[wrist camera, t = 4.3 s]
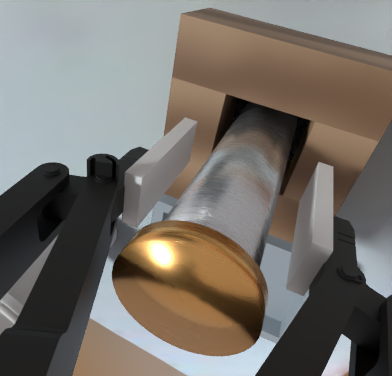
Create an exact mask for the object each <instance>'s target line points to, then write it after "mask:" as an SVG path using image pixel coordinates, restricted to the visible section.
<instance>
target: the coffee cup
mask: <svg viewBox="0 0 392 376" xmlns="http://www.w3.org/2000/svg"><path fill="white" fill-rule="evenodd" d="M57 237H58V236H57ZM57 237H56V238H55V239H54V240H53V241H52V242H51V244H50V245H49V246H48V247H47V248H46V249H45V250H44V251H43V253H42V254H41V255H40V256H39V257H38V258H37V259H36V261H35V262H34V263H33V264H32V265H31V266H30V267H29V268H28V270H27V271H26V272H25V273H24V274H23V275H22V276H21V277H20V279H19V280H18V281H17V282H16V283H15V284H14V285H13V287H12V288H11V289H10V290H9V291H8V292H7V293H6V294H5V296H4V297H3V298H2V299H1V300H0V335H1V333H2V332H3V331H4V330H5V329H6V328H10V327H12V326H13V325H14V324H15V322H16V321H17V319H18V317H19V315H20V313H21V310H22V308H23V306H24V304H25V302H26V300H27V298H28V296H29V294H30V292H31V290H32V288H33V286H34V284H35V282H36V280H37V278H38V276H39V274H40V272H41V270H42V268H43V265H44V263H45V261H46V259H47V257H48V255H49V253H50V251H51V249H52V247H53V245H54V243H55V241H56V239H57ZM116 239H117V227H116V228H115V232H114V235H113V239H112V242H111V245H110V248H111V247H112V245H113V244H114V242H115V241H116Z"/></svg>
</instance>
